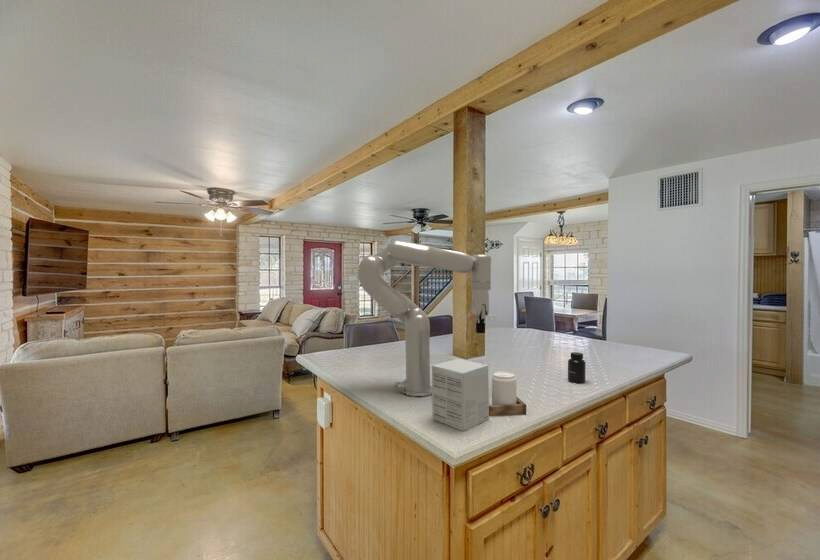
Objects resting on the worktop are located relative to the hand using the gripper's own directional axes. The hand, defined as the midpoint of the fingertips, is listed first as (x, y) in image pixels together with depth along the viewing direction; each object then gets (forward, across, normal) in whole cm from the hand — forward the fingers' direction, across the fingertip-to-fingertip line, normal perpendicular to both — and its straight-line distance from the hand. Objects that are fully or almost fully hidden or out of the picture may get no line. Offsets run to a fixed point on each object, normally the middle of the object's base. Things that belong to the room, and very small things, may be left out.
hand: (480, 332), depth 143 cm
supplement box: (+24, +26, -12) cm, 37 cm away
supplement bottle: (+22, -9, +44) cm, 50 cm away
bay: (+23, +18, +3) cm, 29 cm away
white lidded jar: (+23, +19, +4) cm, 30 cm away
